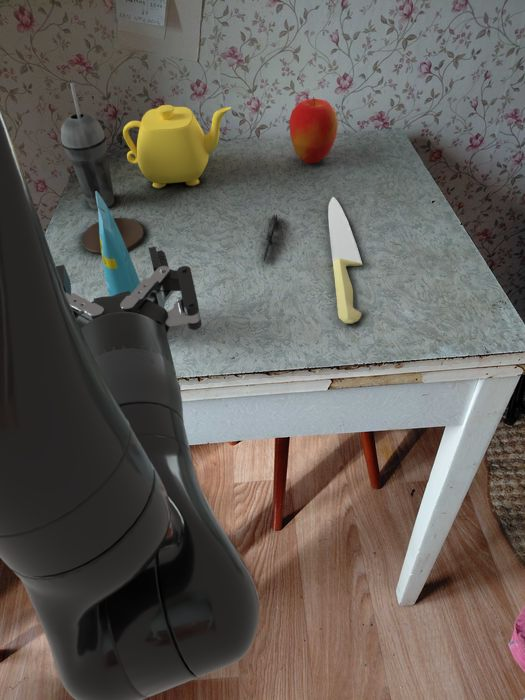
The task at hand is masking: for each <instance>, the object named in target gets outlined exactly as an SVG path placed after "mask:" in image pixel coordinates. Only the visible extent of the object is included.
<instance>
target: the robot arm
mask: <svg viewBox="0 0 525 700" xmlns="http://www.w3.org/2000/svg"><path fill="white" fill-rule="evenodd" d="M10 134H11V133H10V132H9V129H8V126H7V123H6V121H5V118H4V115H3V112H2V110H1V109H0V559H1V560H2V562H3V563H4V564H5V565H6V566H7V567H8V568H9V570H11V571H12V572H13V573H14V574H15V575H16V576H17V577H18V578H19V579H20V581H21V583H22V585H23V586H24V589H25V591H26V593H27V595H28V598H29V599H30V602H31V605H32V607H33V609H34V611H35V614H36V616H37V618H38V621H39V623H40V626H41V628H42V630H43V633H44V636H45V638H46V641H47V642H48V643H47V644H48V646H49V649H50V653H51V657H52V660H53V663H54V667H55V670H56V672H57V675H58V677H59V680H60V681H61V684H62V686H63V688H64V689H65V691H66V692H67V693H68V695H69V696H70V697H72V698H73V699H74V700H145V699H148V698H150V697H153V696H156V695H158V694H161V693H163V692H165V691H168V690H171V689H173V688H176V687H178V686H180V685H183V684H186V683H188V682H190V681H193V680H196V679H198V678H203V677H204V676H207V675H209V674H212V673H215V672H218V671H219V670H222V669H225V668H228V667H229V666H231V665H234V664H235V663H237V662H238V661H241V659H243V658H244V657H245V656H246V655H247V654H248V653H249V651H250V650H251V648H252V646H253V644H254V643H255V639H256V636H257V634H258V631H259V630H258V629H259V624H260V618H261V604H260V603H261V602H260V596H259V591H258V588H257V585H256V582H255V579H254V576H253V575H252V572H251V571H250V569H249V567H248V565H247V563H246V561H245V559H244V557H243V556H242V555H241V552H240V551H239V549H238V548H237V546H236V544H235V543H234V541H233V540H232V539H231V537H230V535H229V533H228V532H227V531H226V529H225V527H224V526H223V524H222V523H221V521H220V519H219V518H218V517H217V514H216V513H215V511H214V509H213V507H212V506H211V504H210V502H209V500H208V498H207V496H206V494H205V492H204V489H203V487H202V485H201V482H200V480H199V477H198V475H197V470H196V468H195V465H194V461H193V456H192V453H191V452H192V451H191V448H190V443H189V439H188V435H187V430H186V426H185V421H184V405H183V398H182V393H181V392H182V391H181V390H182V389H181V385H180V382H179V380H178V375H177V372H176V368H175V363H174V359H173V355H172V351H171V346H170V342H169V337H168V333H169V332H170V329H171V327H176V326H180V325H181V326H182V325H187V328H188V329H189V330H190V331H197V330H199V329H200V328H201V327H202V325H203V324H202V319H201V313H200V307H199V301H198V297H197V293H196V288H195V281H194V278H193V274H192V269H191V267H190V266H188V265H182V266H179V267H178V268H177V269H176V270H174V269H171V268H170V265H169V262H168V259H167V255H166V252H164V251H163V250H162V249H161V250H157V246H156V245H155V246H150V247H148V252H149V257H150V260H151V265H152V267H153V268H152V269H153V273H152V274H151V275H150V277H148V278H146V277H145V278H143V279H142V280H141V281H140V284H139V285H138V286H137V287H136V289H135V290H134V291H133V292H132V293H130V291H127V292H122V293H119V294H116V295H114V296H109V295H108V296H107V295H106V296H100V297H99V296H98V297H93V300H92V301H91V302H90V301H89V300H88V299H86V298H84V297H82V296H80V295H78V294H76V293H75V292H72V284H71V283H72V282H71V278H70V275H69V274H68V270H67V268H66V266H65V264H60V265H56V264H55V260H54V258H53V255H52V251H51V250H50V247H49V244H48V240H47V238H46V235H45V232H44V229H43V226H42V223H41V221H40V217H39V214H38V212H37V211H38V210H37V209H36V205H35V203H34V200H33V197H32V194H31V192H30V188H29V185H28V183H27V179H26V177H25V174H24V172H23V169H22V166H21V163H20V160H19V157H18V155H17V152H16V149H15V146H14V143H13V140H12V137H11V135H10ZM174 292H180V294H181V296H178V297H176V302H174V304H173V308H172V309H171V310H168V311H167V309H166V308H165V306H166V303H167V302H168V300H169V299H170V298H171V296H172V295H173V293H174ZM170 530H171V534H170V535H169V536H168V534H169V531H170Z"/></svg>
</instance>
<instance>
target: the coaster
mask: <svg viewBox="0 0 525 700" xmlns="http://www.w3.org/2000/svg"><path fill="white" fill-rule="evenodd" d="M113 219H114V221H115V223H116V225H117V227H118V230H119V232H120V234H121V236H122V239H123V241H124V243H125V246H126V248H127V250H128V251H130V250H132V249H134V248H135V247H137V246H138V245H139V244H140V243H141V241H142V240H143V238H144V234H145V233H144V229H143V226H142V225H141V224H140V223H139V222H138V221H136V220H134V219H130V218H128V217H127V218H125V217H113ZM81 244H82V246H83V248H84V249H85V250H86V251H87V252H89V253H91V254H93V255H97V256H102V254H101V245H100V233H99V221H98V222H96V223H94V224H91V226H89V227H88V228H87V229H86V230H85V231H84V232H83V233H82V236H81Z"/></svg>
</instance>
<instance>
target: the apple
mask: <svg viewBox="0 0 525 700" xmlns="http://www.w3.org/2000/svg"><path fill="white" fill-rule="evenodd" d="M288 122H289V123H288V125H289V135H290V140H291V143H292V146H293V149H294V153H295V155H296V156H297V157H299V159H300V160H301V161H302V162H304V163H305V164H308V165H309V164H317V163H319V162H320V161H322V160H323V159H324V158H326V157H328V155H329V154H330V152H331V150H332V148H333V147H334V143H335V141H336V139H337V134H338V127H339V121H338V117H337V113H336V109H335V107H334V106H332V104H331V103H329V101H328V100H325V99H322V98H316V97H315V96H313V97H312V98H308V99H305V100H302V101H299V103H297V104H296V105H295V107H294V108H293V109H292V110H291V114H290V117H289V120H288Z"/></svg>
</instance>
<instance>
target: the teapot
mask: <svg viewBox="0 0 525 700" xmlns="http://www.w3.org/2000/svg"><path fill="white" fill-rule="evenodd" d="M231 109H232V107H231V106H226V107H221V108H219V109H218V110H216V111H215V112H214V113H213V116H212V119H211V127H210V130H209V131H208V132H207V133H206V134H205V133H204V131H203V129H202V127H201V125H200V123H199V122H198V119H197V118H196V116H195V114H194V113H193V111H192V110H191V109H190V108H189V107H186V106H174V105H171V104H162V105H160V106H158V107H156V108H151V109H149V110H147V111H146V112H145V114H143V116H142V118H141V121H140V120H131V121H129V122H127V123H126V124H125V126H123V130H122V136H123V139H124V141H125V143H126V145H127V146H128V148H129V151H128V152H127V154H126V159H127V161H128V162H129V163H130V164H133V165H138V167H139V170H140V172H141V173H142V174H143V176H144V177H145V178H146V179H147V180H148V181H149V182H150V183H152V187H153V188H156V189H161V188H164V187H165V186H166V185H167V184H174V183H176V184H177V183H185V184H186V185H187V186H196V185H198V184H200V180H199V178H200V177H201V176H202V175H203V173H204V171H205V170H206V168H207V165H208V162H209V159H210V154H211V153H213V152H214V151H215V149H216V148H217V147H218V144H219V141H220V134H221V133H220V132H221V122H222V119H223V117H224V116H225V114H226V113H227V112H228V111H230V110H231ZM132 128H139V130H138V134H137V138H136V139H137V140H136V141H137V142H136V145H135V143H134V141H133V140H132V138H131V136H130V133H129V130H130V129H132ZM132 155H133V156H134V157H133V156H132Z"/></svg>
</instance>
